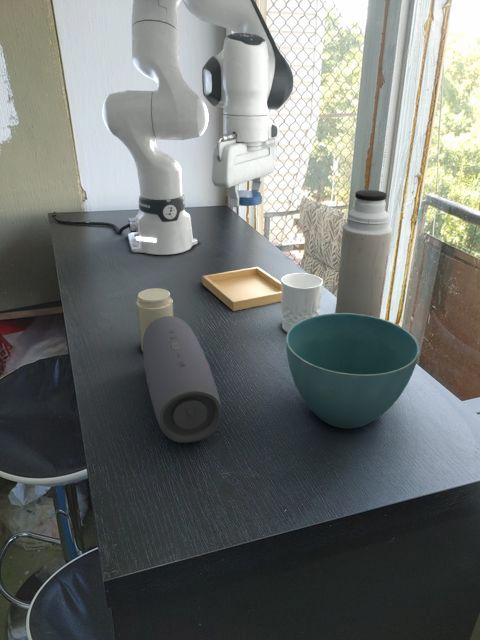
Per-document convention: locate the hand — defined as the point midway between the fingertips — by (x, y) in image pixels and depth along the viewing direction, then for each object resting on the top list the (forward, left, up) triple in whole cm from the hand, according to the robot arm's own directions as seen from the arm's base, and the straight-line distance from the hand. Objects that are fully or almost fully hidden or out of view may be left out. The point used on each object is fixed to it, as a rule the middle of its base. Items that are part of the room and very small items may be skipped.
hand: (245, 202), depth 108 cm
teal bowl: (+48, -7, -20) cm, 52 cm away
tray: (0, +1, -20) cm, 20 cm away
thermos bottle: (+32, +7, -20) cm, 38 cm away
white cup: (+21, +2, -20) cm, 29 cm away
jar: (+16, -26, -20) cm, 36 cm away
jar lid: (0, 0, +1) cm, 1 cm away
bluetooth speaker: (+34, -28, -20) cm, 49 cm away
